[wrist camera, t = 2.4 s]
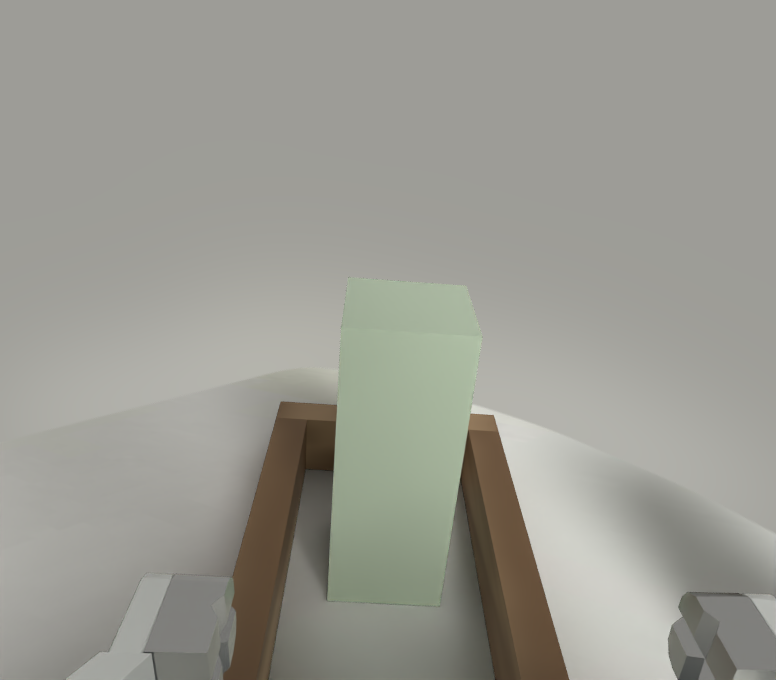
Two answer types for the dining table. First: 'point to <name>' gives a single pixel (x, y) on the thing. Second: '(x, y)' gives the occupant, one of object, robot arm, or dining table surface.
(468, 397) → the sage block
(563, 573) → the dining table surface
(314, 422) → the frame
